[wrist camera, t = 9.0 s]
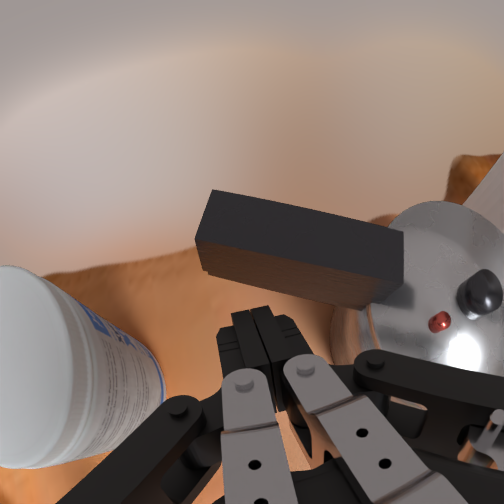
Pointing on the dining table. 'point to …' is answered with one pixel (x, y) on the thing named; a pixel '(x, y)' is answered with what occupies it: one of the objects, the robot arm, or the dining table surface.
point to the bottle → (490, 196)
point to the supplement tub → (66, 376)
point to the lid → (375, 270)
